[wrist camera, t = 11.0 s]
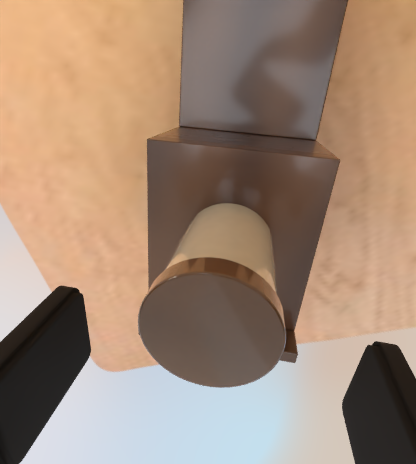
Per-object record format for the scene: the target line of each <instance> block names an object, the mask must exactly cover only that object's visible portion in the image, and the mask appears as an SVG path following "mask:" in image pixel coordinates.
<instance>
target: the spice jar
mask: <svg viewBox="0 0 416 464" xmlns="http://www.w3.org/2000/svg"><path fill="white" fill-rule="evenodd" d="M138 327H139V333H140V336H141V339H142V341H143V344H144V346H145V347H146V349H147V351H148V352H149V353H150V355H151V356H152V357H153V358H154V359H155V360H156V361H157V362H158V363H159V364H160V365H161V366H162V367H163V368H165V369H166V370H168V371H169V372H170V373H172V374H174V375H176V376H177V377H179V378H182V379H184V380H186V381H189V382H192V383H195V384H199V385H203V386H209V387H220V388H222V387H236V386H241V385H245V384H248V383H251V382H254V381H256V380H258V379H260V378H261V377H263V376H265V375H266V374H267V373H269V372H270V371H271V370H272V369H273V368H274V367H275V365H276V364H277V363H278V361H279V360H280V358H281V356H282V354H283V351H284V348H285V343H286V330H285V321H284V313H283V308H282V305H281V302H280V300H279V298H278V291H277V281H276V270H275V259H274V249H273V239H272V235H271V232H270V229H269V227H268V225H267V224H266V222H265V221H264V220H263V219H262V218H261V217H260V216H259V215H258V214H257V213H256V212H254V211H253V210H251V209H249V208H247V207H245V206H242V205H238V204H232V203H222V204H216V205H213V206H209V207H207V208H205V209H204V210H202V211H200V212H199V213H198V214H197V215H196V216H195V217H194V218H193V219H192V221H191V222H190V224H189V226H188V227H187V229H186V231H185V233H184V235H183V237H182V238H181V240H180V242H179V244H178V246H177V248H176V249H175V251H174V253H173V255H172V257H171V259H170V260H169V262H168V264H167V266H166V268H165V270H164V271H163V272H162V273H161V274H160V275H159V276H158V277H157V278H156V279H155V281H154V282H153V284H152V286H151V287H150V289H149V291H148V292H147V294H146V296H145V298H144V300H143V302H142V304H141V306H140V310H139V314H138Z"/></svg>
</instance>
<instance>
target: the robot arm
mask: <svg viewBox="0 0 416 464" xmlns="http://www.w3.org/2000/svg"><path fill="white" fill-rule="evenodd" d="M90 353H91V346H90V339H89V332H88V325H87V318H86V312H85V305H84V298H83V295H82V294H81V293H80V292H79V290H78V289H77V288H72V287H66V286H59V287H57V288H56V289H55V290H54V291H53V292H52V293H51V294H50V295H49V296H48V297H47V298H46V299H45V300H44V301H43V302H42V303H41V304H39V305H38V306H37V307H36V308H35V309H34V310H33V311H32V312H31V313H30V314H29V315H28V316H27V317H26V318H25V319H24V320H23V321H22V322H21V323H20V324H19V325H18V326H17V327H16V328H15V329H14V330H13V331H11V332H10V333H9V334H8V335H7V336H6V337H5V338H4V339H3V340H2V341H1V342H0V464H19V463H20V462H21V461H22V459H23V458H24V457H25V455H26V454H27V452H28V451H29V449H30V448H31V446H32V445H33V443H34V442H35V440H36V438H37V437H38V435H39V434H40V432H41V431H42V429H43V428H44V426H45V425H46V423H47V422H48V420H49V419H50V417H51V415H52V414H53V412H54V411H55V409H56V408H57V406H58V405H59V403H60V402H61V400H62V399H63V397H64V395H65V394H66V392H67V391H68V389H69V388H70V386H71V385H72V383H73V382H74V380H75V379H76V377H77V375H78V374H79V372H80V371H81V369H82V368H83V366H84V365H85V363H86V362H87V360H88V358H89V356H90ZM342 409H343V415H344V418H345V423H346V427H347V431H348V435H349V440H350V444H351V448H352V452H353V456H354V460H355V464H416V378H415V376H414V374H413V373H412V371H411V369H410V367H409V365H408V363H407V361H406V359H405V357H404V355H403V353H402V352H401V350H400V348H399V347H398V346H397V345H394V344H388V343H383V342H377V341H376V342H374V343H373V344H372V345H368V346H367V347H366V349H365V351H364V353H363V356H362V358H361V360H360V363H359V365H358V367H357V369H356V372H355V374H354V376H353V378H352V381H351V383H350V385H349V388H348V390H347V392H346V394H345V397H344V399H343V403H342Z"/></svg>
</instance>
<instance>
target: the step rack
mask: <svg viewBox="0 0 416 464" xmlns="http://www.w3.org/2000/svg"><path fill="white" fill-rule="evenodd" d="M347 2H348V0H183V28H182V57H181V86H180V116H179V126H180V127H178V128H175V129H172V130H170V131H167V132H165V133H162V134H159V135H157V136H154V137H152V138H149V139H147V178H148V273H149V289H150V287H151V286H152V284H153V282H154V281H155V279H156V278H157V277H158V276H159V275H160V274H161V273H162V272H163V271H164V270H165V268H166V266H167V264H168V262H169V260H170V259H171V257H172V255H173V253H174V251H175V249H176V248H177V246H178V244H179V242H180V240H181V238H182V237H183V235H184V233H185V231H186V229H187V227H188V226H189V224H190V222H191V221H192V219H193V218H194V217H195V216H196V215H197V214H198V213H199V212H200V211H202V210H204V209H205V208H207V207H209V206H213V205H216V204H222V203H232V204H238V205H242V206H245V207H247V208H249V209H251V210H253V211H254V212H256V213H257V214H258V215H259V216H260V217H261V218H262V219H263V220H264V221H265V222H266V224H267V225H268V227H269V229H270V232H271V235H272V239H273V249H274V259H275V270H276V281H277V291H278V298H279V300H280V302H281V305H282V308H283V313H284V321H285V330H286V343H285V348H284V351H283V354H282V356H281V358H280V360H281V361H287V362H292V363H295V362H296V358H297V355H298V352H297V346H296V339H295V332H294V330H295V326H296V322H297V318H298V315H299V311H300V307H301V304H302V300H303V296H304V293H305V289H306V285H307V281H308V278H309V274H310V270H311V267H312V263H313V259H314V255H315V252H316V248H317V244H318V241H319V237H320V233H321V229H322V226H323V222H324V218H325V215H326V211H327V207H328V203H329V200H330V196H331V192H332V189H333V185H334V181H335V177H336V174H337V170H338V166H339V163H340V159H338V158H337V157H336V156H335V155H333V154H332V153H331V152H330V151H328V150H327V149H326V148H325V147H323V146H322V145H321V144H319V143H318V142H317V141H316V138H317V134H318V129H319V125H320V121H321V116H322V112H323V107H324V103H325V99H326V94H327V90H328V85H329V81H330V77H331V72H332V68H333V63H334V59H335V55H336V50H337V46H338V42H339V37H340V33H341V28H342V24H343V20H344V15H345V11H346V6H347ZM138 329H139V327H138ZM139 335H140V333H139Z"/></svg>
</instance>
